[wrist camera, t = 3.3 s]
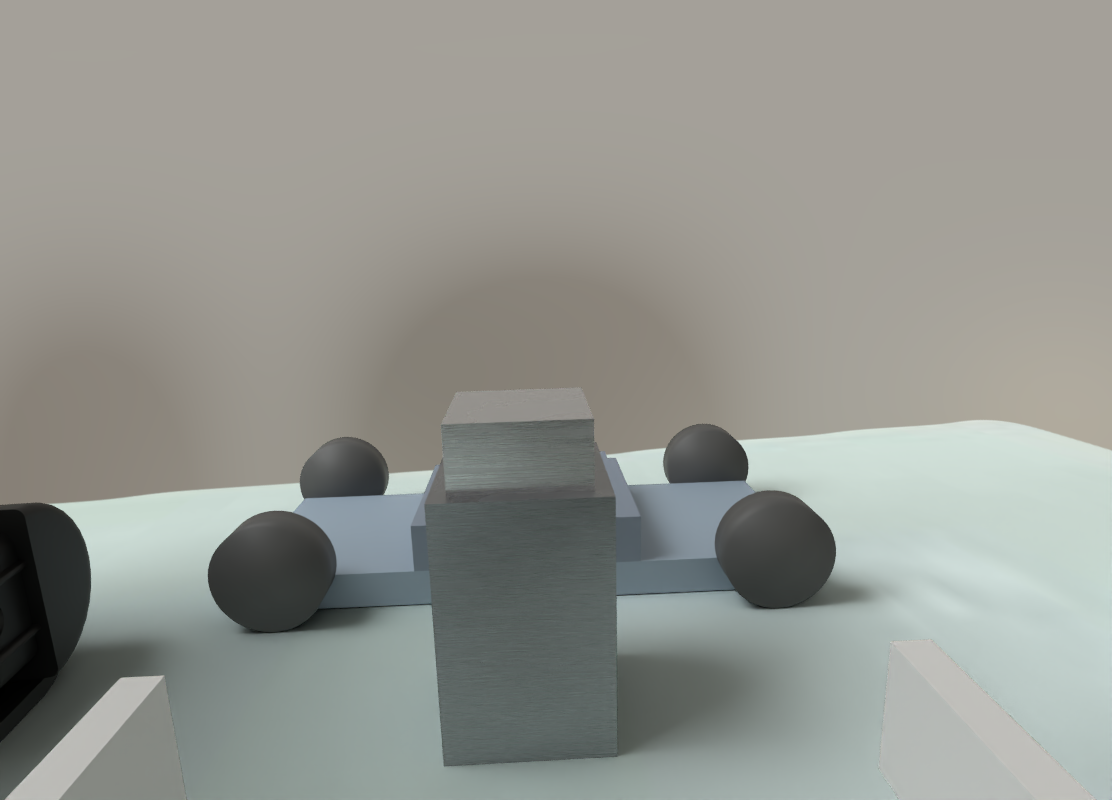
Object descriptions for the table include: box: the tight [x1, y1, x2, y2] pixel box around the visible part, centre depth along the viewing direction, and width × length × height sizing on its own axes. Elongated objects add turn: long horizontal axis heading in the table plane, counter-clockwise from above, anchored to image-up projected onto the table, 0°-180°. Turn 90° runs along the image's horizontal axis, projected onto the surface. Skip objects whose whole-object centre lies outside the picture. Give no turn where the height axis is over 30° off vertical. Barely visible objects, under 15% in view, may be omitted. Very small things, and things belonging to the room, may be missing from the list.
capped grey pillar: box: [424, 388, 617, 766], centre depth 20 cm, size 5×5×10 cm
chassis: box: [208, 424, 836, 632], centre depth 32 cm, size 24×12×4 cm, turn 93°
